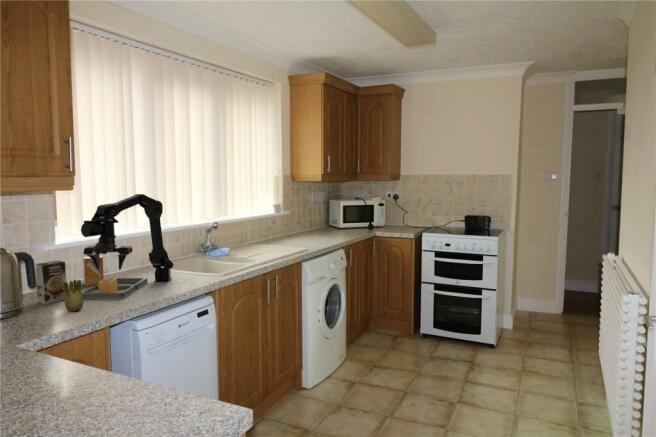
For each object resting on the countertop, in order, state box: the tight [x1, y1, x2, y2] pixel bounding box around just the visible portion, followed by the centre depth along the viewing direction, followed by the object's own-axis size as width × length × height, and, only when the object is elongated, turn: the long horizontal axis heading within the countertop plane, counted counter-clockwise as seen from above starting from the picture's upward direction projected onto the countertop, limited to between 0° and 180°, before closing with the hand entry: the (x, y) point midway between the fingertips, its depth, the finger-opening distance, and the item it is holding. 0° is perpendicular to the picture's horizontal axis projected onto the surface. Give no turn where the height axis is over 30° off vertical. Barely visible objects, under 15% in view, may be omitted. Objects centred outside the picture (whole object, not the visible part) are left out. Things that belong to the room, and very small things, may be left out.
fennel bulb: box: [64, 279, 84, 312], centre depth 181 cm, size 6×5×12 cm
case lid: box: [81, 285, 137, 300], centre depth 205 cm, size 18×15×2 cm
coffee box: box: [35, 260, 67, 305], centre depth 194 cm, size 9×6×16 cm
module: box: [98, 277, 118, 293], centre depth 204 cm, size 5×7×6 cm
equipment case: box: [95, 277, 149, 291], centre depth 219 cm, size 18×14×2 cm
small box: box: [82, 254, 105, 287], centre depth 224 cm, size 8×6×13 cm
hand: (109, 269), depth 205 cm, fingers open, 9 cm apart
